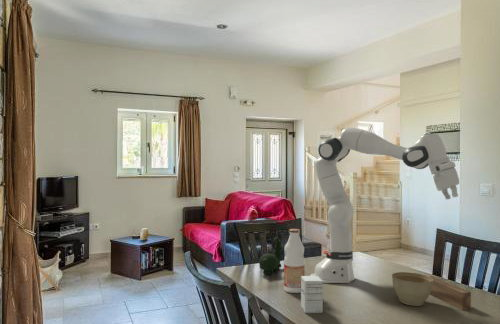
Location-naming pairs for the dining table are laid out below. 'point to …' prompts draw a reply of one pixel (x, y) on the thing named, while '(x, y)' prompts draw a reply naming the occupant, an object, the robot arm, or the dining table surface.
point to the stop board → (451, 294)
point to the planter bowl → (412, 287)
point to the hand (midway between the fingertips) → (452, 198)
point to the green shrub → (272, 259)
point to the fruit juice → (293, 262)
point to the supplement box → (311, 294)
